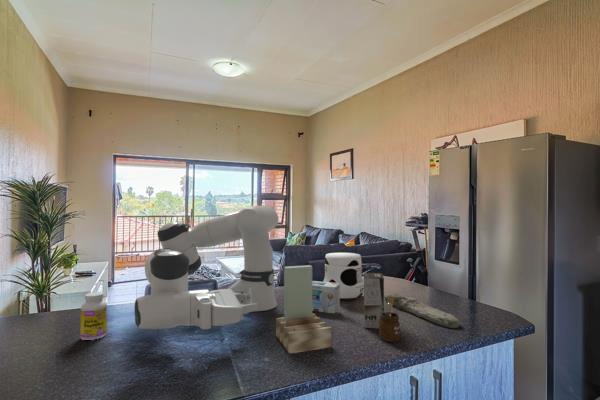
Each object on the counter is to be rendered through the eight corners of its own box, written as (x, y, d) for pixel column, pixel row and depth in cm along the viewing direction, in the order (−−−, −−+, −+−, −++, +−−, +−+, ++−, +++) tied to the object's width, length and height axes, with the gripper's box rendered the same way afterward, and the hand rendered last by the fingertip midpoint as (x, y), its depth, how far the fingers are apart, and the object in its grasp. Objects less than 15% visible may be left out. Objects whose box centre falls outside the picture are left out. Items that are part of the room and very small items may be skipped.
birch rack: (289, 359, 86) (289, 333, 86) (275, 340, 98) (275, 317, 98) (332, 352, 90) (332, 328, 90) (313, 334, 102) (313, 313, 102)
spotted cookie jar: (319, 292, 151) (319, 252, 151) (357, 291, 153) (357, 251, 153) (327, 303, 133) (327, 258, 134) (369, 302, 135) (369, 257, 136)
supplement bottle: (79, 343, 96) (79, 298, 96) (81, 335, 101) (82, 292, 102) (106, 339, 99) (106, 295, 99) (107, 331, 105) (107, 290, 105)
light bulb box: (306, 314, 121) (306, 284, 121) (312, 308, 127) (312, 280, 127) (335, 318, 117) (335, 287, 117) (340, 312, 123) (340, 282, 123)
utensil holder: (378, 340, 97) (378, 299, 98) (380, 333, 103) (380, 294, 104) (399, 343, 95) (399, 301, 96) (400, 335, 101) (400, 295, 101)
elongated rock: (444, 335, 106) (467, 332, 110) (446, 319, 105) (468, 316, 110) (376, 300, 137) (395, 298, 142) (377, 287, 137) (396, 286, 141)
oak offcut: (296, 349, 88) (296, 330, 88) (294, 346, 90) (294, 327, 90) (321, 345, 91) (321, 327, 91) (318, 342, 92) (318, 324, 92)
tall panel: (286, 338, 95) (286, 268, 95) (284, 336, 97) (284, 266, 97) (312, 335, 98) (312, 266, 98) (309, 332, 100) (309, 265, 100)
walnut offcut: (288, 344, 91) (288, 322, 92) (286, 341, 93) (286, 319, 93) (319, 339, 94) (318, 318, 95) (316, 337, 96) (316, 316, 96)
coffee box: (384, 329, 106) (384, 278, 106) (363, 328, 108) (363, 277, 108) (383, 319, 115) (383, 272, 115) (364, 318, 117) (363, 271, 117)
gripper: (199, 307, 98) (246, 302, 103) (204, 332, 79) (261, 325, 84) (199, 285, 98) (246, 281, 103) (204, 305, 79) (261, 300, 84)
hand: (253, 301), depth 93 cm, fingers open, 8 cm apart
